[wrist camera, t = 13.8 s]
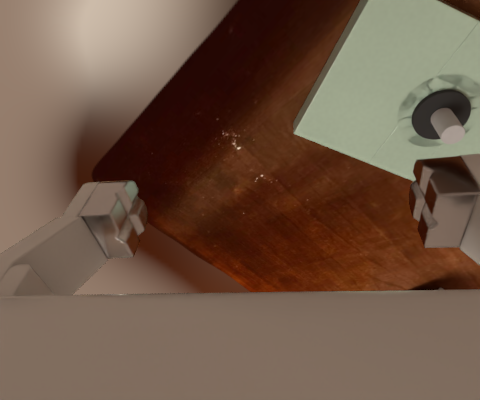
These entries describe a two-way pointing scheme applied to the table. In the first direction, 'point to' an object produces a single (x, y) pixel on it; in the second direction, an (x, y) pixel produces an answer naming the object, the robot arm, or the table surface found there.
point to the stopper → (442, 116)
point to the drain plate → (394, 83)
